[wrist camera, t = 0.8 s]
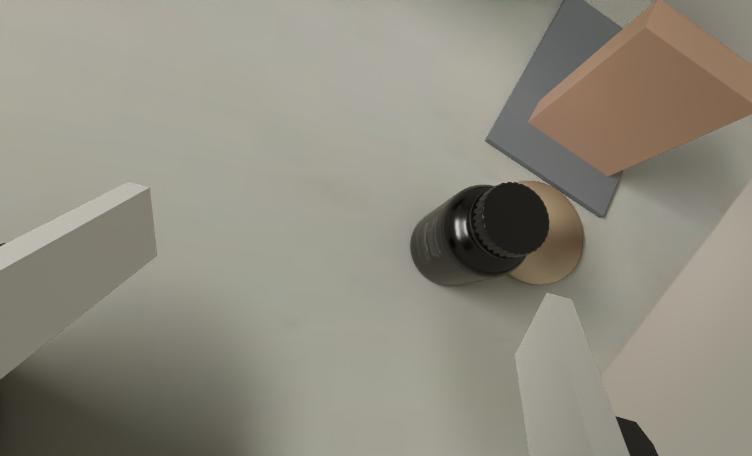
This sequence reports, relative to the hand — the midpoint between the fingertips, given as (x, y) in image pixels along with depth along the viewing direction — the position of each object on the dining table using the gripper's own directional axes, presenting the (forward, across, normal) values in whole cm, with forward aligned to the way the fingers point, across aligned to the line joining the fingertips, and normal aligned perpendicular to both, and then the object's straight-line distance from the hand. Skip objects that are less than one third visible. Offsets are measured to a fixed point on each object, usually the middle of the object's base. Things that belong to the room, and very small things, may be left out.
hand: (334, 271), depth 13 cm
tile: (+33, +16, -1) cm, 37 cm away
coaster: (+26, +14, -9) cm, 30 cm away
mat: (+38, +16, +2) cm, 41 cm away
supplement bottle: (+22, +6, -11) cm, 25 cm away
